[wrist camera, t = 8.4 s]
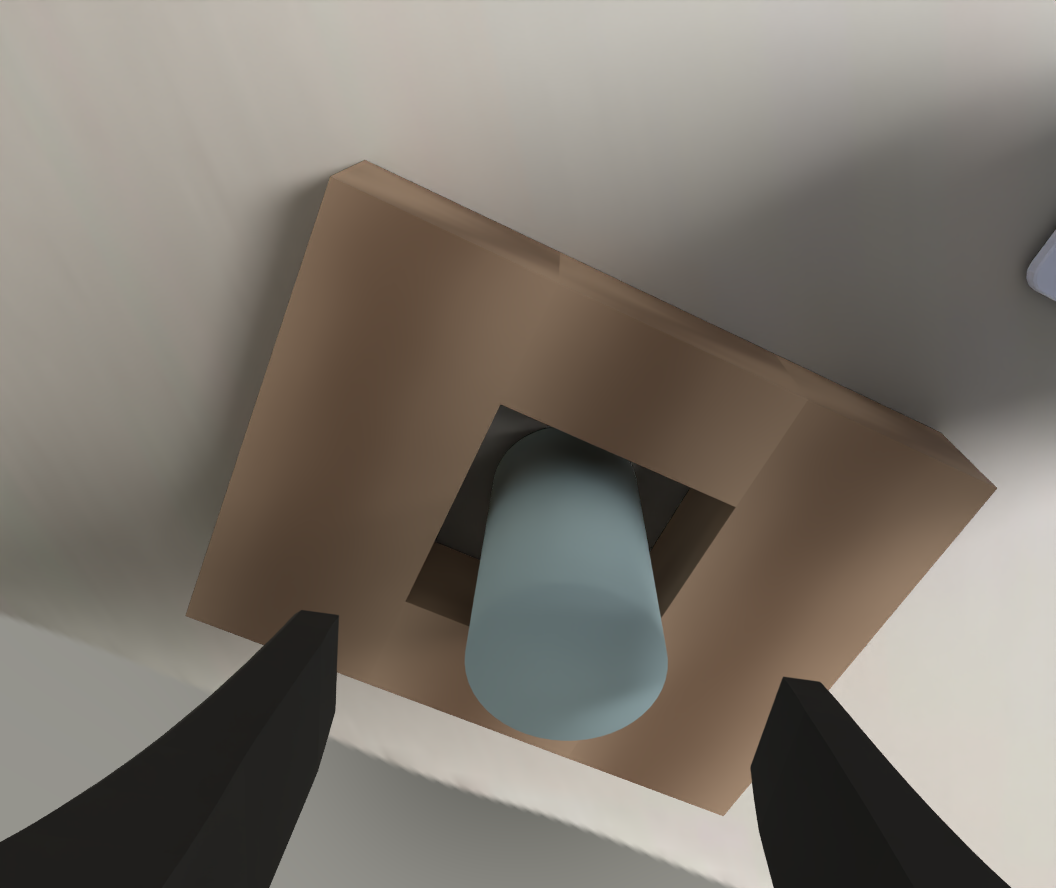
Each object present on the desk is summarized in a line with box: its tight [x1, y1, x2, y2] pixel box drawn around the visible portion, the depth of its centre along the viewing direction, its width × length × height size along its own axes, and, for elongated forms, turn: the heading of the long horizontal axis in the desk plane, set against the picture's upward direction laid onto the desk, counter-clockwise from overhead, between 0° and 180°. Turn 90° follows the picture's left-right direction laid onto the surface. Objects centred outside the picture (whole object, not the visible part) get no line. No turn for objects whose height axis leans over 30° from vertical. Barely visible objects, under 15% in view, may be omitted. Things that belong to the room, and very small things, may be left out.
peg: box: [465, 427, 668, 741], centre depth 19 cm, size 4×4×7 cm
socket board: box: [186, 160, 997, 816], centre depth 21 cm, size 16×12×3 cm
